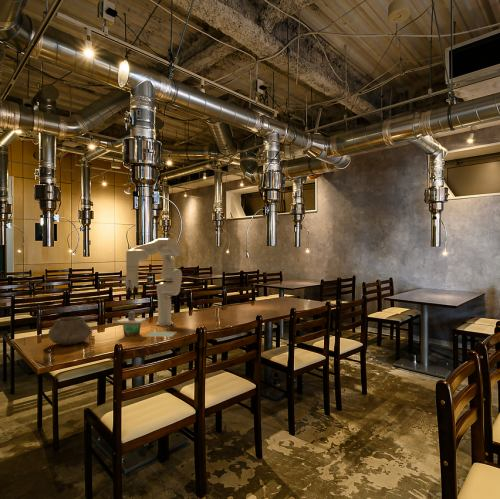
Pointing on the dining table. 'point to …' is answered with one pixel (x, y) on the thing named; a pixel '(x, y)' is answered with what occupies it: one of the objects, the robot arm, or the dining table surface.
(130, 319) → the lid
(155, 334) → the mat
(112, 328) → the dining table surface
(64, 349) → the dining table surface
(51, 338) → the grey rounded lump
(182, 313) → the dining table surface
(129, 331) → the food container
